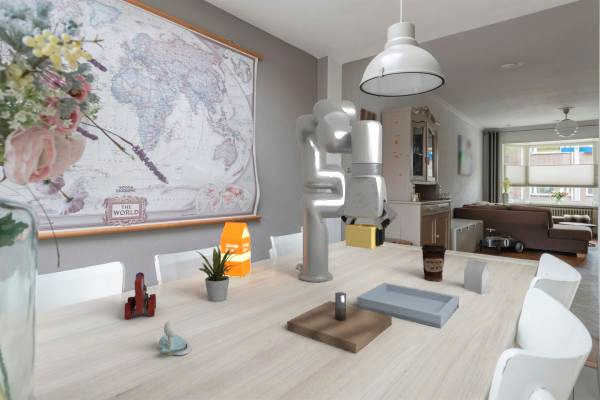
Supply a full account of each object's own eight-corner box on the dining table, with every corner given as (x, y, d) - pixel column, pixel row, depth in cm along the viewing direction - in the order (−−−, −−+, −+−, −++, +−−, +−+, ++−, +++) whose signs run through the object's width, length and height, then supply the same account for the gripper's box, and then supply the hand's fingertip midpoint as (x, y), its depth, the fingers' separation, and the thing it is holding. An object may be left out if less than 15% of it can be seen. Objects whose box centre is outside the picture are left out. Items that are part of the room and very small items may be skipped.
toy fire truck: (156, 304, 94) (156, 268, 94) (154, 320, 82) (153, 279, 82) (129, 307, 91) (128, 270, 91) (123, 324, 80) (122, 281, 79)
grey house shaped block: (481, 294, 103) (482, 262, 103) (463, 288, 109) (464, 258, 109) (490, 293, 104) (490, 261, 104) (472, 287, 111) (472, 257, 110)
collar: (345, 245, 81) (345, 225, 81) (359, 242, 87) (359, 223, 87) (371, 249, 77) (371, 227, 77) (384, 245, 82) (384, 225, 82)
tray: (357, 307, 91) (357, 297, 91) (384, 291, 105) (384, 282, 105) (440, 328, 77) (440, 315, 77) (458, 307, 92) (458, 296, 92)
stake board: (287, 329, 77) (287, 321, 77) (329, 307, 91) (329, 300, 91) (355, 353, 66) (356, 343, 65) (391, 324, 80) (391, 316, 80)
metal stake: (332, 319, 78) (333, 294, 78) (338, 315, 80) (338, 291, 80) (342, 321, 76) (342, 296, 76) (348, 318, 78) (348, 293, 78)
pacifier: (187, 341, 71) (157, 346, 69) (188, 312, 71) (158, 316, 68) (194, 356, 65) (162, 362, 62) (195, 324, 65) (162, 330, 62)
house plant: (254, 299, 98) (254, 244, 97) (214, 311, 88) (214, 251, 87) (227, 289, 108) (226, 239, 107) (187, 299, 97) (187, 244, 97)
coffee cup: (448, 283, 115) (449, 246, 114) (423, 282, 116) (423, 245, 116) (442, 276, 123) (443, 242, 123) (419, 275, 125) (419, 241, 125)
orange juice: (241, 277, 122) (241, 224, 121) (220, 276, 124) (220, 223, 123) (250, 272, 129) (250, 222, 129) (230, 271, 132) (230, 221, 131)
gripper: (328, 172, 84) (327, 241, 85) (393, 170, 73) (391, 250, 74) (344, 173, 90) (343, 238, 90) (406, 171, 79) (405, 245, 79)
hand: (365, 242), depth 82 cm, fingers closed on collar, 7 cm apart
